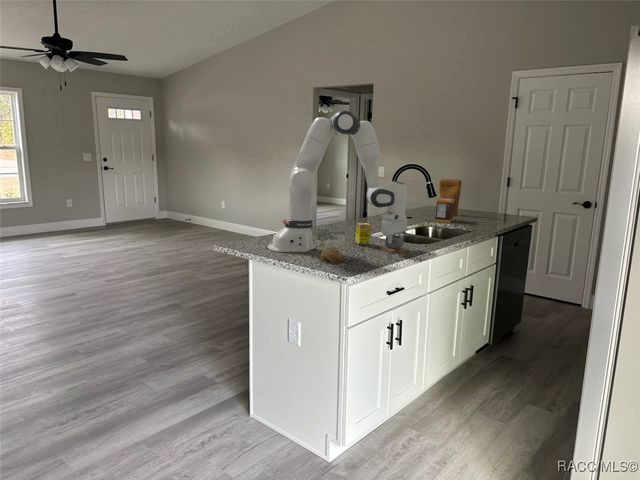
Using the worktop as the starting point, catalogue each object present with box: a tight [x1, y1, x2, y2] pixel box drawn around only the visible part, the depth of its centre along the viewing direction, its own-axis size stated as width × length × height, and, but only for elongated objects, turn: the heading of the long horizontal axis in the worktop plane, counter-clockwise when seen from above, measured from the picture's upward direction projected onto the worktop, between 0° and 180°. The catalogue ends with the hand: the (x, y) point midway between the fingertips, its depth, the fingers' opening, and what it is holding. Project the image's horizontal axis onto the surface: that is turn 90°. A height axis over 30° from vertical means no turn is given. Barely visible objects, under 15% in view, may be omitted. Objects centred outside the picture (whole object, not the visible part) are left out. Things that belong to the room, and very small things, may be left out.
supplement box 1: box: [355, 222, 372, 246], centre depth 239 cm, size 6×6×11 cm
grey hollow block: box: [384, 234, 404, 249], centre depth 228 cm, size 6×6×5 cm
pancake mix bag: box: [437, 178, 463, 217], centre depth 361 cm, size 7×19×28 cm, turn 44°
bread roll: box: [319, 247, 344, 265], centre depth 202 cm, size 10×10×8 cm
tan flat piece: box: [378, 245, 410, 254], centre depth 229 cm, size 11×11×4 cm
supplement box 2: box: [434, 198, 455, 223], centre depth 331 cm, size 10×15×16 cm
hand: (394, 242), depth 228 cm, fingers open, 6 cm apart
